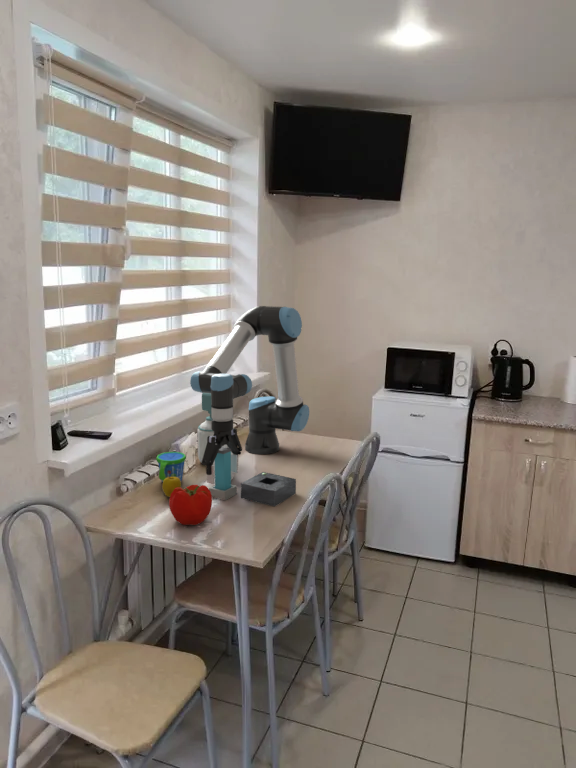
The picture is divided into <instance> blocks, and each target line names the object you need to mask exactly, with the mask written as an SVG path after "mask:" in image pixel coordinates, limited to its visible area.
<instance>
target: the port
mask: <svg viewBox="0 0 576 768" xmlns="http://www.w3.org/2000/svg"><path fill="white" fill-rule="evenodd" d="M296 493H297V478H293V477H288V476H284V475H280V474H275V473H271V472H266V471H262V472H260V473H258V474H256V475H254V476H252V477H250V478H248V479H246V480H244V481H242V482H241V483H240V499H243V500H246V501H250V502H254V503H259V504H262V505H267V506H270V507H277V506H278V505H280V504H281V503H283V502H285V501H286V500H288V499H289V498H291V497H293V496H295V495H297V494H296Z"/></svg>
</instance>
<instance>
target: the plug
mask: <svg viewBox="0 0 576 768" xmlns="http://www.w3.org/2000/svg"><path fill="white" fill-rule="evenodd" d="M214 481H215V484H214V485H215V489H219V490H223V491H225V490H227V489H229V488H231V485H232V479H231V448H226V447H221V449H219V451H218V453H217V456H216V458H215V470H214Z"/></svg>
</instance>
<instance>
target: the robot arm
mask: <svg viewBox="0 0 576 768" xmlns="http://www.w3.org/2000/svg"><path fill="white" fill-rule="evenodd" d="M302 326H303V322H302V317H301V315H300V312H299V311H298V310H296V308H295V307H294V308H293V307H288V306H273V305H271V306H270V305H268V306H267V305H259V306H255V307H253V308H251V309H249V310H247V311H246V312H245V313H244V314H243V313H242V315H241V316H240V317H239V318H238V319H237V320H236V322H235V323H234V324H233V328H232V331H231V333H230V334H229V335H228V337H227V338H226V340H225V341H224V342H223V343H222V345H221V346H220V347H219V349H218V350H217V352H216V353H215V354H214V356H213V358H212V359H211V360H210V361H209V362H208V363H207V365H206V367H205V368H204V370H203V371H199V370H198V371H195V372H194V373H192V375H191V377H190V380H189V381H190V382H189V383H190V387H191V390H193V391H194V392H197V393H201V394H202V393H210V394H211V417H212V420H211V428H212V430H213V431H214V435H213V436H208V437H207V445H206V448H205V452H204V456H203V459H202V463H201V465H202V466H205V474H206V483H207V484H211V485H215V470H214V465H213V463H214V460H215V458H216V456H217V453H218V451H219V449H221V447H222V446H224V445H227V446H228V447H229V448H231V452H232V453H233V454H231V472H234V474H235V473H238V472H239V455H241V454H242V452H243V447H242V444H241V441H240V439H239V436H238V430H237V428H234V419H233V418H234V399H236V398H240V397H244V396H246V395H247V394H248V393H250V392H251V390H252V388H253V382H252V378H251V377H249V375H247V374H244V373H241V374H236V375H233V374H231V373H228V372H229V370H230V369H231V368H232V366H233V364H234V363H235V361H236V360H237V358H239V356H240V355H241V353H242V352H243V350H244V349H245V347H246V346H247V345H248V343H249V342H251V341H253V340H254V339H255V338H256V337H257V336H260V335H262V336H267V338H268V343H269V344H271V345H272V349H273V358H274V365H275V366H274V367H275V369H274V370H275V377H276V385H277V393H278V394H277V395H278V398H277V399H276V396H272V395H271V396H269V395H268V396H261V397H256V398H252V399H251V400H250V401H249V404H248V434H247V437H246V440H245V444H244V450H245V451H246V453H250V454H255V455H256V454H257V455H270V454H273V453H274V454H275V453H277V452H279V451H280V442H279V439H278V435H277V432H276V429H277V430H285V431H290V432H301V431H303V430H305V428H306V426H307V424H308V420H309V417H310V407H309V405H307V404H304V399H303V397H302V396H300V393H299V384H298V383H299V381H298V373H297V372H298V371H297V362H296V361H297V360H296V359H297V358H296V351H295V350H296V348H295V343H296V342H297V340H298V337H299V336H300V335H301V333H302V328H303V327H302ZM216 444H217V445H216Z"/></svg>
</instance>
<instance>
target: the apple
mask: <svg viewBox="0 0 576 768" xmlns="http://www.w3.org/2000/svg"><path fill="white" fill-rule="evenodd" d="M178 487H180V488H182V481H180V479H179V478H178V477H169V476H168V477H167V478H165V479H164V481H163V483H162V491H163V493H164V495H165V496H166V497H169V498H170V496H171V493H172V492H173V490H174V489H175V488H178Z"/></svg>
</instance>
